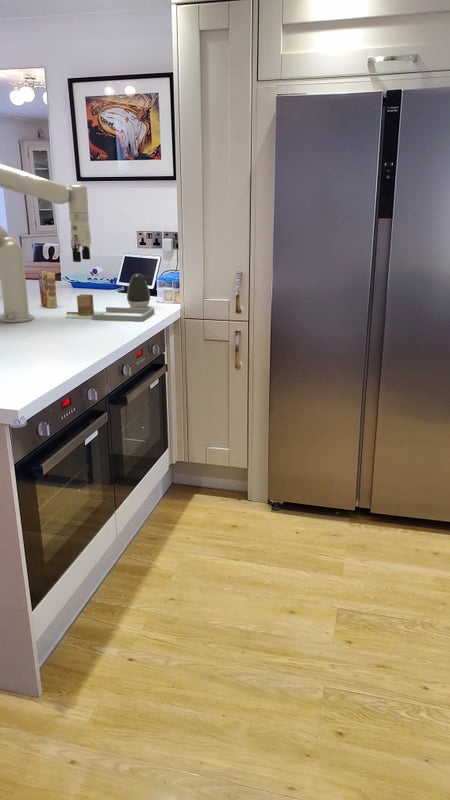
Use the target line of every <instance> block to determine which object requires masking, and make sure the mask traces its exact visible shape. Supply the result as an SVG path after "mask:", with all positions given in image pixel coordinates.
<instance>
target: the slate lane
mask: <svg viewBox="0 0 450 800" xmlns="http://www.w3.org/2000/svg"><path fill="white" fill-rule="evenodd" d="M105 312H106V313H115V314H102V315H99V314H93V315H92V319H91V320H92V321H93V320H94V321H116V322H117V321H118V322H121V321H122V322H144V321H145V320H147V319H148V318H150V317H152V315H154V314H155V308H147V307H145V308H132V307H119V306H118V307H114V306H105ZM116 313H118V314H116ZM120 313H121V314H120ZM124 314H141V315H124Z"/></svg>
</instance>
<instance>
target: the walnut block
mask: <svg viewBox="0 0 450 800" xmlns="http://www.w3.org/2000/svg"><path fill="white" fill-rule="evenodd" d="M76 304H77V305H76V306H77V311H66V314H67V315H72V314H78V315H83V316H90V315H92V314H94V311H95V308H94V294H87V293H86V294H85V293H83V294H78V295H77V296H76Z"/></svg>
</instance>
